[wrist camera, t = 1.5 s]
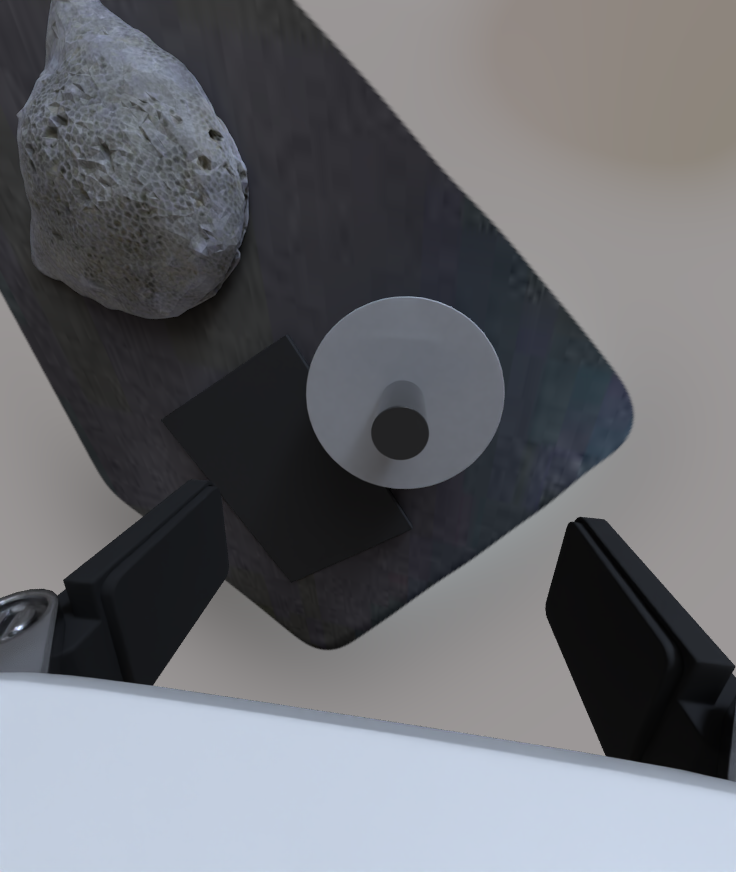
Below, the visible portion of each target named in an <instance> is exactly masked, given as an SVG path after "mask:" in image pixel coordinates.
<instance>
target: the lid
mask: <svg viewBox="0 0 736 872" xmlns="http://www.w3.org/2000/svg"><path fill="white" fill-rule="evenodd" d="M504 396H505V393H504V379H503V373H502V368H501V365H500V362H499V359H498V356H497V354H496V352H495V350H494V348H493V346H492V344H491V343H490V341H489V340H488V338H487V337H486V335H485V334H484V333H483V332H482V331H481V329H480V328H479V327H478V326H477V325H476V324H475V323H474V322H473V321H471V320H470V319H469V318H468V317H466V316H465V315H464V314H462V313H461V312H459V311H457V310H456V309H454V308H452V307H450V306H448V305H445V304H443V303H441V302H438V301H434V300H430V299H427V298H420V297H412V296H405V297H392V298H386V299H381V300H378V301H374V302H371V303H368V304H366V305H364V306H362V307H360V308H358V309H356V310H354V311H353V312H351V313H350V314H348V315H347V316H345V317H344V318H343V319H341V320H340V321H339V322H338V323H337V324H336V325H335V326H334V327H333V328H332V329H331V330H330V331H329V332H328V334H327V335H326V336H325V337H324V339H323V340H322V342H321V343H320V345H319V346H318V348H317V350H316V353H315V355H314V357H313V359H312V362H311V365H310V368H309V372H308V378H307V384H306V401H307V409H308V414H309V418H310V422H311V424H312V427H313V430H314V432H315V434H316V436H317V438H318V440H319V442H320V443H321V445H322V446H323V447H324V449H325V450H326V452H327V453H328V454H329V455H330V456H331V457H332V459H333V460H334V461H336V462H337V463H338V464H339V465H340V466H341V467H342V468H344V469H345V470H347V471H348V472H349V473H351V474H352V475H354V476H356V477H358V478H360V479H362V480H364V481H367V482H369V483H372V484H375V485H379V486H382V487H388V488H395V489H413V488H422V487H426V486H431V485H434V484H437V483H440V482H443V481H445V480H447V479H449V478H452V477H454V476H455V475H457V474H458V473H460V472H462V471H463V470H465V469H466V468H467V467H468V466H469V465H471V464H472V463H473V462H474V461H475V460H476V459H477V458H478V457H479V456H480V455H481V454H482V453H483V451H484V450H485V449H486V447H487V446H488V445H489V443H490V441H491V440H492V438H493V436H494V434H495V432H496V430H497V427H498V425H499V422H500V419H501V415H502V411H503V406H504Z"/></svg>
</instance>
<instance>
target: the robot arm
mask: <svg viewBox="0 0 736 872" xmlns="http://www.w3.org/2000/svg"><path fill="white" fill-rule="evenodd" d="M228 569H229V562H228V553H227V544H226V535H225V526H224V517H223V508H222V499H221V491H220V489H219V488H218V487H215V484H214V483H213V482H212V481H204V480H192V479H191V480H189V481H187V482H186V483H185V484H184V485H182V486H181V487H180V488H179V489H177V490H176V491H175V492H174V493H172V494H171V495H170V496H169V497H167V498H166V499H165V500H164V501H162V502H161V503H160V504H158V505H157V506H156V507H155V508H153V509H152V510H151V511H150V512H148V513H147V514H146V515H145V516H143V517H142V518H141V519H140V520H138V521H137V522H136V523H135V524H133V525H132V526H131V527H130V528H128V529H127V530H126V531H124V532H123V533H122V534H121V535H119V536H118V537H117V538H116V539H114V540H113V541H112V542H111V543H109V544H108V545H107V546H106V547H104V548H103V549H102V550H101V551H99V552H98V553H97V554H95V556H93V557H92V558H90V559H89V560H88V561H87V562H85V563H84V564H83V565H82V566H80V567H79V568H78V569H77V570H75V571H74V572H73V573H72V574H70V575H69V576H68V577H67V578H65V579H64V580H63V581H64V584H65V587H66V589H65V590H64V591H63V592H62V593H60V594H59V595H58V596H57V595H56V594H55V593H54V592H53V591H50V590H45V589H30V590H26V591H21V592H16V593H14V594H11V595H8V596H5V597H2V598H0V872H736V677H735V676H734V675H733V674H732V672H733V670H734V668H735V665H734V664H733V663H732V662H731V661H730V660H729V659H728V658H727V656H726V655H725V654H724V653H723V652H722V651H721V650H720V649H719V647H718V646H717V645H716V644H715V643H714V642H713V641H712V640H711V639H710V637H709V636H708V635H707V634H706V633H705V632H704V630H702V628H701V627H700V626H699V625H698V624H697V623H696V621H695V620H694V619H693V618H692V617H691V616H690V615H689V614H688V612H687V611H686V610H685V609H684V608H683V607H682V606H681V605H680V604H679V602H678V601H677V600H676V599H675V598H674V597H673V596H672V594H671V593H670V592H669V591H668V590H667V589H666V588H665V587H664V585H663V584H662V583H661V582H660V581H659V580H658V579H657V578H656V576H655V575H654V574H653V573H652V572H651V571H650V570H649V569H648V567H647V566H646V565H645V564H644V563H643V562H642V561H641V559H639V557H638V556H637V555H636V554H635V553H634V552H633V550H632V549H631V548H630V547H629V546H628V545H627V544H626V543H625V541H624V540H623V539H622V538H621V537H620V536H619V535H618V534H617V533H616V531H615V530H614V529H613V528H612V527H611V526H610V525H609V523H608V522H607V521H605V520H604V519H595V518H585V517H579V518H577V519H576V520H575V522H570V523H569V524H568V526H567V528H566V532H565V536H564V539H563V543H562V547H561V550H560V554H559V557H558V561H557V565H556V568H555V572H554V576H553V579H552V583H551V586H550V590H549V594H548V597H547V601H546V608H545V609H546V616H547V619H548V621H549V624H550V626H551V628H552V631H553V633H554V636H555V638H556V640H557V643H558V645H559V647H560V650H561V652H562V654H563V657H564V659H565V661H566V664H567V666H568V668H569V671H570V673H571V675H572V678H573V680H574V682H575V685H576V687H577V690H578V692H579V694H580V696H581V699H582V701H583V704H584V706H585V708H586V711H587V713H588V715H589V718H590V720H591V722H592V725H593V727H594V729H595V732H596V734H597V736H598V739H599V741H600V744H601V746H602V748H603V751H604V753H605V755H606V756H601V755H595V754H590V753H585V752H579V751H573V750H566V749H560V748H554V747H548V746H542V745H535V744H529V743H522V742H517V741H510V740H504V739H497V738H491V737H485V736H479V735H472V734H467V733H460V732H454V731H448V730H442V729H435V728H428V727H422V726H416V725H410V724H403V723H397V722H390V721H384V720H377V719H370V718H365V717H358V716H352V715H345V714H338V713H332V712H325V711H319V710H312V709H306V708H298V707H292V706H285V705H280V704H272V703H266V702H259V701H253V700H246V699H239V698H233V697H226V696H219V695H212V694H205V693H198V692H192V691H185V690H178V689H172V688H165V687H158V686H153V684H154V683H155V681H156V680H157V679H158V677H159V676H160V674H161V673H162V671H163V670H164V668H165V667H166V665H167V664H168V662H169V661H170V659H171V658H172V656H173V655H174V654H175V652H176V651H177V649H178V647H179V646H180V645H181V643H182V642H183V640H184V639H185V637H186V636H187V634H188V633H189V631H190V630H191V628H192V627H193V626H194V624H195V622H196V621H197V620H198V618H199V617H200V615H201V614H202V612H203V611H204V609H205V608H206V606H207V605H208V604H209V602H210V601H211V599H212V598H213V596H214V595H215V593H216V592H217V590H218V589H219V587H220V586H221V584H222V583H223V581H224V580H225V578H226V576H227V574H228Z"/></svg>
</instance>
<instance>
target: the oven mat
mask: <svg viewBox="0 0 736 872" xmlns="http://www.w3.org/2000/svg"><path fill="white" fill-rule="evenodd" d="M308 372H309V366H308V365H307V363H306V362H305V360H304V358H303V357H302V355H301V354H300V352H299V351H298V349H297V348H296V346H295V345H294V343H293V342H292V340H291V339H290V337H289V335H285V336H283V337H282V338H280V339H279V340H277V341H276V342H275V343H273V344H272V345H270V346H269V347H267V348H266V349H264V350H263V351H261V352H260V353H258V354H257V355H255V356H254V357H253V358H251V359H250V360H248V361H247V362H245V363H244V364H242V365H241V366H239V367H238V368H236V369H235V370H234V371H232V372H231V373H229V374H228V375H226V376H225V377H223V378H222V379H220V380H219V381H217V382H216V383H214V384H213V385H212V386H210V387H209V388H207V389H206V390H204V391H203V392H201V393H200V394H198V395H197V396H195V397H194V398H192V399H191V400H190V401H188V402H187V403H185V404H184V405H182V406H181V407H179V408H178V409H176V410H175V411H173V412H172V413H170V414H169V415H168V416H166V417H165V418H163V419H162V420H161V421H162V422H163V423H164V424H165V425H166V427H167V428H168V429H169V430H170V432H171V433H172V434H173V435H174V437H175V438H176V439H177V440H178V442H179V443H180V444H181V445H182V447H183V448H184V449H185V450H186V452H187V453H188V454H189V455H190V457H191V458H192V459H193V460H194V462H195V463H196V464H197V465H198V467H199V468H200V469H201V470H202V472H203V473H204V474H205V475H206V477H207V478H208V479H209V480H210V481H212V482H213V483H214V484H215V487H218V488H219V489H220V491H221V495H222V497H223V498H224V499H225V500H226V502H227V503H228V504H229V505H230V507H231V508H232V509H233V510H234V512H235V513H236V514H237V515H238V517H239V518H240V519H241V520H242V522H243V523H244V524H245V525H246V527H247V528H248V529H249V530H250V532H251V533H252V534H253V535H254V537H255V538H256V539H257V540H258V542H259V543H260V544H261V545H262V547H263V548H264V549H265V550H266V552H267V553H268V554H269V555H270V557H271V558H272V559H273V560H274V562H275V563H276V564H277V565H278V567H279V568H280V569H281V570H282V572H283V573H284V574H285V575H286V577H287V578H288V579H289V580H290V582H291V583H292V582H294V581H296V580H299V579H301V578H303V577H305V576H307V575H310V574H312V573H314V572H316V571H319V570H321V569H323V568H325V567H328V566H330V565H332V564H334V563H337V562H339V561H341V560H343V559H346V558H348V557H350V556H352V555H355V554H357V553H359V552H361V551H364V550H366V549H368V548H370V547H373V546H375V545H377V544H379V543H382V542H384V541H386V540H388V539H391V538H393V537H395V536H397V535H400V534H402V533H404V532H406V531H409V530H411V529H412V524H411V523H410V521H409V520H408V518H407V517H406V515H405V513H404V512H403V510H402V509H401V507H400V506H399V504H398V503H397V501H396V500H395V498H394V497H393V495H392V494H391V492H390V490H389V489H388V487H382V486H379V485H375V484H372V483H369V482H367V481H364V480H362V479H360V478H358V477H356V476H354V475H352V474H351V473H349V472H348V471H347V470H345V469H344V468H342V467H341V466H340V465H339V464H338V463H337V462H336V461H334V460H333V459H332V457H331V456H330V455H329V454H328V453H327V452H326V450H325V449H324V447H323V446H322V445H321V443H320V442H319V440H318V438H317V436H316V434H315V432H314V430H313V427H312V424H311V422H310V418H309V414H308V409H307V401H306V384H307V378H308Z"/></svg>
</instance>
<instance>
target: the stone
mask: <svg viewBox="0 0 736 872" xmlns="http://www.w3.org/2000/svg"><path fill="white" fill-rule="evenodd" d="M17 117H18V119H19V123H18V129H17V142H18V146H19V156H20V168H21V172H22V176H23V178H24V184H25V189H26V194H27V198H28V200H29V204H30V206H31V215H32V217H31V223H30V227H31V233H30V244H31V257H32V260H33V264H34V266H35V267H36V268H37V269H38V270H39V271H40V272H42V273H43V274H44V275H46V276H49V277H51V278H53V279H56V280H61V281H63V282H64V283H65V284H66V285H68V286H69V287H70V288H71V289H73V290H74V291H76V292H77V293H79V294H80V295H82V296H84V297H89V298H92V299H94V300H95V301H97V302H99V303H100V304H102V305H103V306H105V307H107V308H108V309H117V310H122V311H124V312H126V313H129V314H132V315H136V316H139V317H143V318H149V319H161V318H170V317H178V316H179V315H181V314H182V313H184V312H185V311H187V310H188V309H190V308H193V307H195V306H197V305H198V304H200V303H202V302H204V301H205V300H207V299H209V298H211V297H213V296H215V295H216V293H217V291H218V290H219V289H220V288H221V287H222V284H223V282H224V281H225V280H226V279H227V278H228V276H229V275H230V274H231V272H232V271H233V270H234V268H235V267H236V266H237V264H238V262H239V260H240V252H239V250H238V248H239V247H240V246H241V243H242V240H243V237H244V234H245V231H246V229H247V225H248V220H249V207H248V206H249V189H248V180H247V169H246V167H245V164H244V163H243V161H242V159H241V157H240V154H239V152H238V149H237V147H236V144H235V142H234V140H233V138H232V137H231V135H230V134H229V132H228V130H227V128H226V126H225V124H224V123H223V122H222V120H221V119H220V118H218V117H217V116H216V115H215V112H214V109H213V106H212V105H211V103H210V101H209V99H208V98H207V96H206V94H205V93H204V91H203V89H202V87H201V86H200V84H199V83H198V81H197V80H196V78H195V77H194V75H193V74H192V73H191V72H190V71H188V69H187V68H186V66H185V65H184V64H183V63H181V62H180V61H179V60H178V59H176V58H175V57H174V56H173V55H171V54H170V53H168V52H166V51H164V50H162V49H161V48H160V47H158V46H157V45H156V44H155V43H154V42H153V41H152V40H151V39H150V38H149V37H148V36H147V35H145V34H144V33H142V32H141V31H139V30H137V29H134V28H132V27H131V26H129V25H128V24H127V23H125V22H124V21H123V20H121V19H120V18H119V17H117V16H116V15H114V14H113V13H112V12H110V11H109V10H108V9H107V8H106V7H105V6H103V5H102V3H101V2H100V0H52V1H51V7H50V12H49V18H48V27H47V35H46V64H45V68H44V71H43V72H42V73H41V74H40V78H39V79H38V80H37V81H36V84H35V86H34V89H33V91H32V93H31V95H30V97H29V99H28V101H27V103H26V104H25V106H24V108H23V109H21V110H20V112H19V113H18V114H17Z"/></svg>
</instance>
